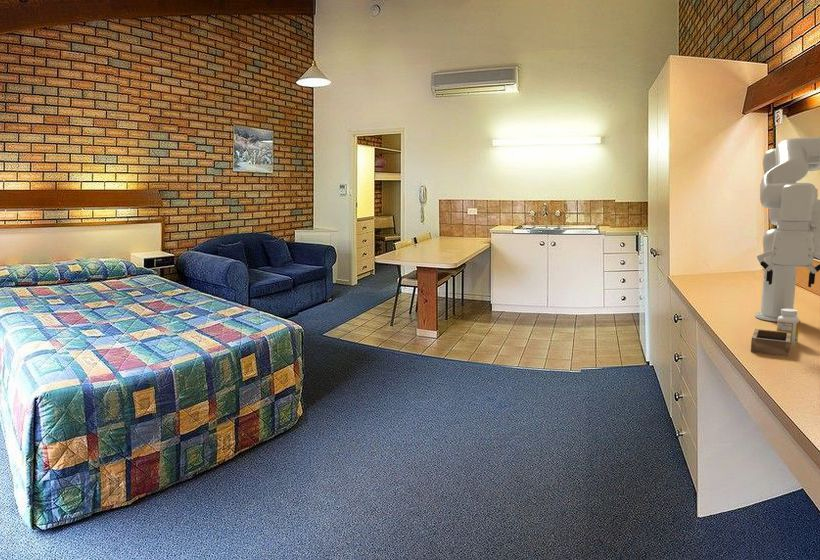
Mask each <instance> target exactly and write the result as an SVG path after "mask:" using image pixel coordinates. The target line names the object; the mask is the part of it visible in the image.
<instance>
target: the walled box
mask: <svg viewBox="0 0 820 560" xmlns="http://www.w3.org/2000/svg"><path fill="white" fill-rule="evenodd" d="M790 341H791V332H781V331H777V330H771V329H770V330H769V329H761V328H755V329H754V331H753V333H752V335H751V341H750V344H751V345H750V353H751V352H752V353H759V354H767V355H775V356H785V357H789V356H790V350H791V349H790V348H791V344H790Z"/></svg>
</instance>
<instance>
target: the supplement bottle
mask: <svg viewBox="0 0 820 560" xmlns="http://www.w3.org/2000/svg"><path fill="white" fill-rule="evenodd" d="M781 314H782V316H779V317H778V321H777V324H776V331H781V332H791V341H790V345H791V344H797V343H798V339H799V329H800V328H799V327H800V318H799V317H798V318H797V317H796V316H798V310H797V309H781Z"/></svg>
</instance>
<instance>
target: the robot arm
mask: <svg viewBox="0 0 820 560" xmlns="http://www.w3.org/2000/svg"><path fill="white" fill-rule="evenodd" d="M762 166H763V173H764V175H763V177H762V179H761V182H760V186H759V187H760V188H759V200H760V204H761V205H762V207H764V208H766V209H768V219H769V222H770V224H771V225H773V226H775V227H778V228H772V229H769V230H767V231H766V232H765V233H764V235H763V236H762V237H763V238H762V245H763V253H761V254H758V255H757V256H756V258H757V261H758V262H759V265H760V266H761V267H762V268H763V273H762V274H763V277H762V290H761V291H762V292H761V303H760V304H761V305H760V311H757V312H755V315H754V316H755V318H757V319H759V320H763V321H767V322H775V323H776V322H777V321H778V317H779V316H782V314H781V309H794V305H795V295H796V282H797V267H806V268H807V269H808V270H809V271H810V272H809V273H808V281H807V282H808V284H807V286H808V288H811V287H812V285H815V279H816V274H817V273H818V272H819V271H820V263H818V265H816V266H814V265H813V263H814V258H815V259H817V260H820V199H818V196H819V195H818V194H819V193H818V188H817V187H816V186H815V185H814V184H812V183H811V182H798V181H800V180H802V179H804V178H805V177H806V176H807V174H808V172H816V171H820V136H814V137H811V136H810V137H796V138H787V139H784V140H782V141H781V142H779V143H778V145H777V146H776V147H775V148H772V149H769V150H767V151H766V152H765V153H764V154H763V158H762ZM794 310H795V309H794ZM796 317H797V318H799V316H798V315H796Z"/></svg>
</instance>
